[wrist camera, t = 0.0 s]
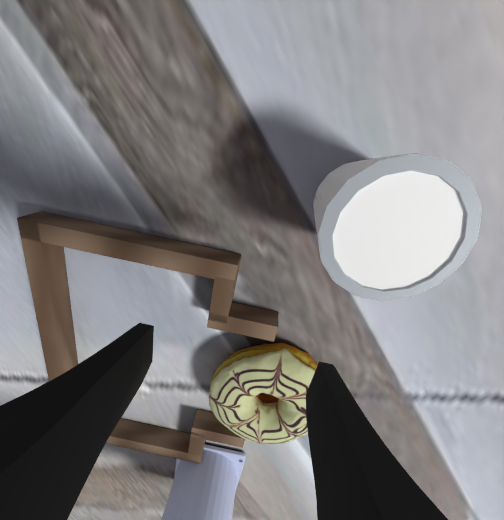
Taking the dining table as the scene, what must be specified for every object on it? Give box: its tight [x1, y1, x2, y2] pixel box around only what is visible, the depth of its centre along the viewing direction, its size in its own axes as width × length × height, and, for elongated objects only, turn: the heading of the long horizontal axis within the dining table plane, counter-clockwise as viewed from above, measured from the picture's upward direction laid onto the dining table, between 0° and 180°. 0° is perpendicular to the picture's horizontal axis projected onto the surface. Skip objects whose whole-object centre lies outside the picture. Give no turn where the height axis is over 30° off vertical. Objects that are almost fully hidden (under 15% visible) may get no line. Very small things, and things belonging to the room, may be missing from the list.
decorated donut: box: [209, 343, 318, 444], centre depth 24 cm, size 10×11×4 cm
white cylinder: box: [313, 153, 482, 301], centre depth 15 cm, size 7×7×7 cm
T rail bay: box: [17, 211, 278, 464], centre depth 24 cm, size 20×25×2 cm
